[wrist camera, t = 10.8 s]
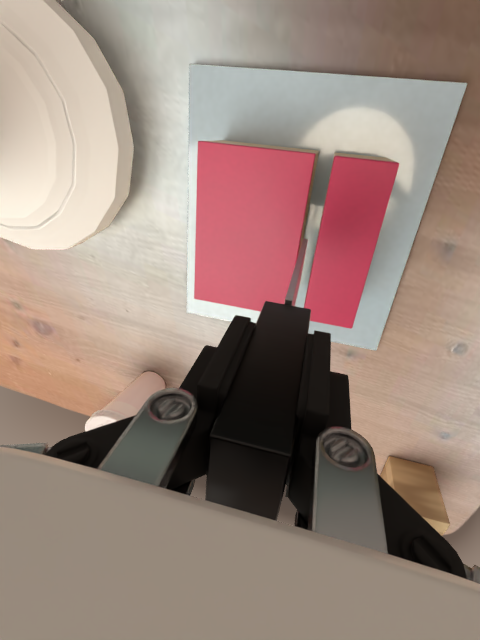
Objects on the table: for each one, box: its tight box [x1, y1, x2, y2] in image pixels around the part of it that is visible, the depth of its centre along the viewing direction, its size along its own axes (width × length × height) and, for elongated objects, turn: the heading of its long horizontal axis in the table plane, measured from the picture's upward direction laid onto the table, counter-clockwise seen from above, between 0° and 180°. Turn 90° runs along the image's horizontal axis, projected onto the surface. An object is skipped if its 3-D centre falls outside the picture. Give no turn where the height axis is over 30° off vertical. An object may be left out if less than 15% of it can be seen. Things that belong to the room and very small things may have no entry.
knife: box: [205, 239, 311, 521], centre depth 15 cm, size 2×3×16 cm, turn 175°
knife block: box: [380, 456, 450, 536], centre depth 39 cm, size 5×7×7 cm
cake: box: [194, 140, 319, 312], centre depth 28 cm, size 8×12×6 cm, turn 175°
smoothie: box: [85, 371, 165, 431], centre depth 39 cm, size 6×6×14 cm
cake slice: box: [304, 152, 399, 329], centre depth 27 cm, size 4×12×6 cm, turn 175°
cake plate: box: [187, 64, 467, 350], centre depth 31 cm, size 20×22×1 cm
